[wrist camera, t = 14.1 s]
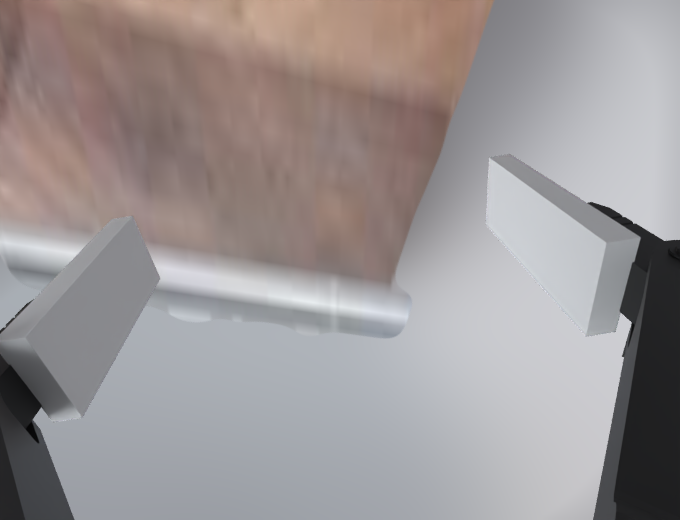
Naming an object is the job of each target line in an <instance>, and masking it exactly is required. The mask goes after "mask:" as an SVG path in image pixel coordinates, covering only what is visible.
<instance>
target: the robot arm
mask: <svg viewBox="0 0 680 520" xmlns="http://www.w3.org/2000/svg"><path fill="white" fill-rule="evenodd" d="M486 226H487V227H488V228H489V229H490V230H491V231H492V233H494V235H495V236H496V237H497V238H498V239H499V240H500V241H501V243H502V244H503V245H504V246H505V247H506V248H507V249H508V250H509V252H510V253H511V254H512V255H513V256H514V257H515V258H516V259H517V260H518V261H519V262H520V264H521V265H522V266H523V267H524V268H525V269H526V270H527V271H528V273H529V274H530V275H531V276H532V277H533V278H534V279H535V280H536V282H537V283H538V284H539V285H540V286H541V287H542V288H543V289H544V290H545V291H546V293H547V294H548V295H549V296H550V297H551V298H552V299H553V300H554V301H555V303H556V304H557V305H558V306H559V307H560V308H561V309H562V310H563V312H564V313H565V314H566V315H567V316H568V317H569V318H570V319H571V320H572V322H573V323H574V324H575V325H576V326H577V327H578V328H579V329H580V331H582V333H583V334H584V335H585V336H592V335H598V334H604V333H611V332H616V328H617V324H618V321H619V317H620V313H622V314H623V315H624V316H625V317H626V318H627V319H629V320H630V321H631V322H632V324H631V328H630V331H629V334H628V338H627V341H626V345H625V348H624V352H623V355H622V357H624V361H623V366H622V372H621V377H620V382H619V387H618V392H617V398H616V403H615V408H614V413H613V419H612V424H611V430H610V434H609V440H608V445H607V450H606V456H605V461H604V466H603V471H602V476H601V482H600V487H599V492H598V498H597V503H596V508H595V513H594V518H593V520H680V240H671V241H663V240H662V239H660V238H658V237H657V236H655V235H654V234H652V233H650V232H649V231H647V230H645V229H644V228H642V227H640V226H639V225H637V224H633V222H632V221H630V220H629V219H627V218H626V217H622V215H620V214H619V213H617V212H616V211H614V210H612V209H611V208H608V207H605V206H602V205H599V204H596V203H593V202H590V203H586V202H584V201H583V200H581V199H580V198H578V197H577V196H575V195H573V194H572V193H570V192H569V191H567V190H566V189H564V188H563V187H561V186H559V185H558V184H556V183H555V182H553V181H552V180H550V179H548V178H547V177H545V176H544V175H542V174H541V173H539V172H538V171H536V170H534V169H533V168H531V167H530V166H528V165H526V164H525V163H523V162H522V161H520V160H519V159H517V158H516V157H514V156H512V155H511V154H507V155H501V156H495V157H489V171H488V193H487V214H486ZM159 280H160V276H159V274H158V272H157V270H156V267H155V265H154V263H153V261H152V258H151V256H150V254H149V252H148V249H147V247H146V245H145V243H144V240H143V238H142V236H141V234H140V231H139V229H138V227H137V225H136V222H135V220H134V218H133V216H129V217H122V218H116V219H112V220H111V221H110V222H109V223H108V224H107V225H106V226H105V227H104V228H103V229H102V230H101V231H100V232H99V233H98V234H97V235H96V236H95V237H94V238H93V239H92V240H91V241H90V242H89V243H88V244H87V245H86V246H85V247H84V248H83V249H82V251H81V252H80V253H79V254H78V255H77V256H76V257H75V258H74V259H73V260H72V261H71V262H70V263H69V264H68V265H67V266H66V267H65V268H64V269H63V270H62V271H61V272H60V273H59V274H58V275H57V276H56V277H55V278H54V279H53V280H52V281H51V282H50V283H49V284H48V285H47V286H46V288H45V289H44V290H43V291H42V292H41V293H40V294H39V295H38V296H37V297H36V298H35V299H33V300H32V301H30V302H29V303H27V304H26V305H25V306H24V307H23V308H22V309H21V310H20V311H19V312H18V313H17V314H16V315H15V318H12V319H11V320H10V321H9V322H8V323H7V324H6V327H5V328H2V329H1V330H0V520H74V518H73V515H72V513H71V510H70V507H69V504H68V502H67V499H66V496H65V494H64V491H63V488H62V486H61V483H60V480H59V478H58V475H57V472H56V470H55V467H54V465H53V462H52V459H51V457H50V454H49V451H48V449H47V446H46V444H45V441H44V438H43V435H42V433H41V430H40V428H39V427H38V426H37V425H36V423H35V422H34V421H33V418H34V417H35V415H36V414H37V412H38V411H39V409H40V408H41V407H42V408H43V410H44V411H45V412H46V414H47V415H48V416H49V418H50V419H51V420H52V421H53V422H59V421H65V420H70V419H78V418H82V417H83V416H84V414H85V412H86V410H87V409H88V407H89V405H90V403H91V401H92V400H93V398H94V396H95V394H96V393H97V390H98V389H99V387H100V385H101V384H102V382H103V380H104V378H105V376H106V375H107V373H108V371H109V369H110V367H111V366H112V364H113V362H114V360H115V359H116V357H117V355H118V353H119V351H120V349H121V348H122V346H123V344H124V342H125V340H126V339H127V337H128V335H129V334H130V332H131V330H132V328H133V326H134V325H135V323H136V321H137V319H138V317H139V316H140V314H141V312H142V310H143V308H144V307H145V305H146V303H147V301H148V300H149V298H150V296H151V294H152V292H153V291H154V289H155V287H156V285H157V283H158V282H159Z"/></svg>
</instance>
